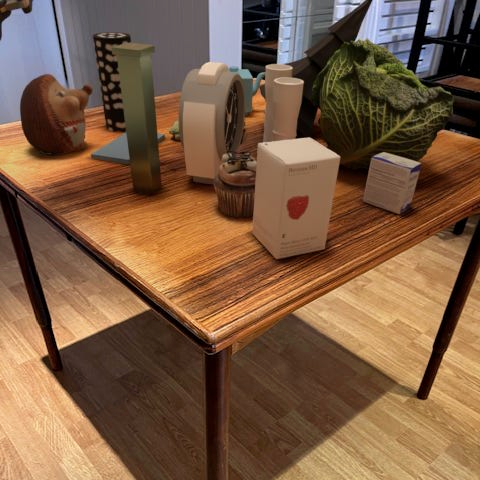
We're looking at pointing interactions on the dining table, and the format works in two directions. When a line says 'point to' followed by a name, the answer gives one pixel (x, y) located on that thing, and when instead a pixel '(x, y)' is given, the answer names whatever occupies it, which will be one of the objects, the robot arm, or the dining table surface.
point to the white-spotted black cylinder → (110, 78)
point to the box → (391, 182)
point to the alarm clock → (210, 118)
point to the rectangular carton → (293, 195)
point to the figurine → (54, 115)
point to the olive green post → (140, 115)
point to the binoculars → (281, 103)
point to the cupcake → (236, 184)
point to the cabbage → (376, 106)
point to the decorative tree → (322, 62)
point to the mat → (117, 150)
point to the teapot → (248, 85)
